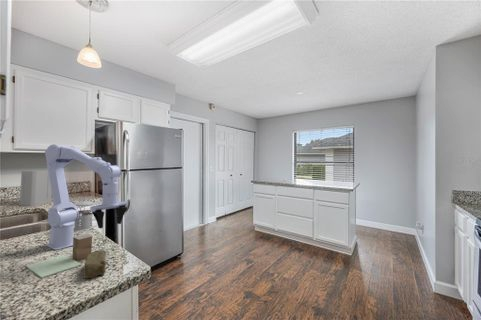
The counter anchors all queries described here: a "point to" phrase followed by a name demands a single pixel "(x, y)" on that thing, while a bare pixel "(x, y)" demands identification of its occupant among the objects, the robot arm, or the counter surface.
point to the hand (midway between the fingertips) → (110, 225)
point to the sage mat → (53, 266)
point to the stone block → (95, 264)
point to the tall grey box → (35, 188)
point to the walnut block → (81, 246)
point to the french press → (83, 216)
